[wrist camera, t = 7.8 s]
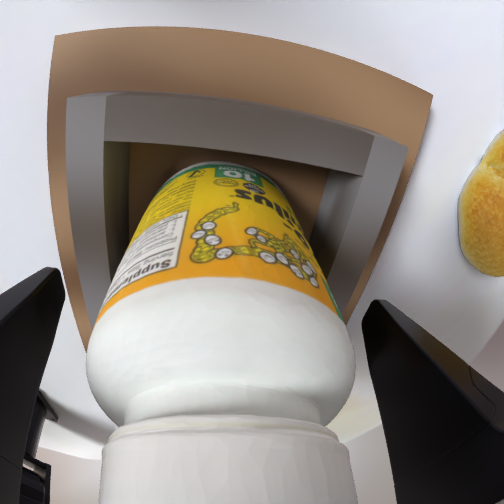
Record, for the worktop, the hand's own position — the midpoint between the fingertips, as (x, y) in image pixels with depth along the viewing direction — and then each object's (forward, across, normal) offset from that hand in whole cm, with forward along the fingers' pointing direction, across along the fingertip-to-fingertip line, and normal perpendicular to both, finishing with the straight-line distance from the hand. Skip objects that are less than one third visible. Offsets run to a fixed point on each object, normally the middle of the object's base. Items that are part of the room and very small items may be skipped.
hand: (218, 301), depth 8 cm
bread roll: (+5, -15, -4) cm, 17 cm away
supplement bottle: (+4, 0, 0) cm, 4 cm away
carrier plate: (+5, 0, +4) cm, 6 cm away
